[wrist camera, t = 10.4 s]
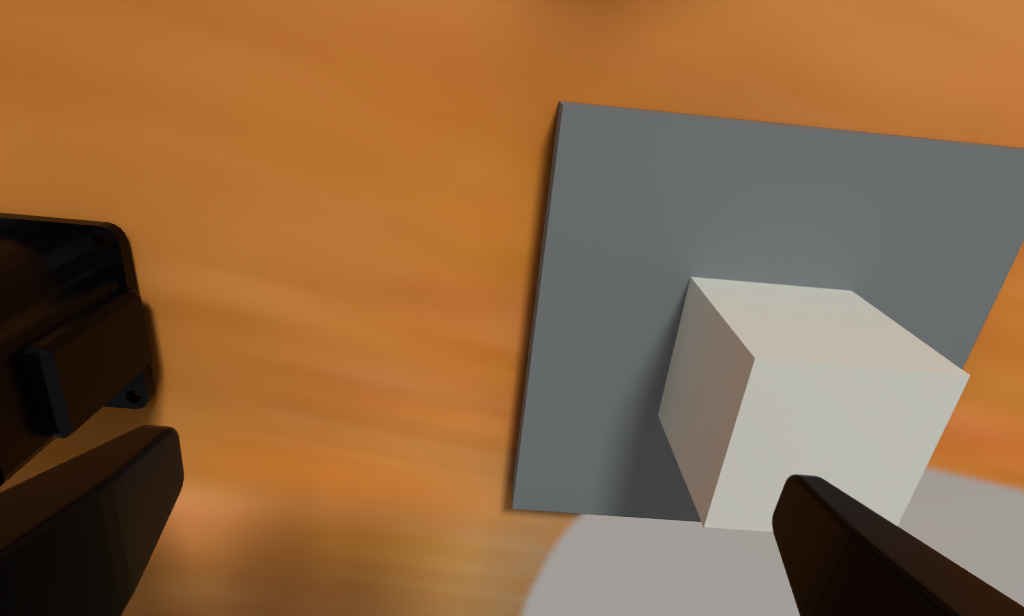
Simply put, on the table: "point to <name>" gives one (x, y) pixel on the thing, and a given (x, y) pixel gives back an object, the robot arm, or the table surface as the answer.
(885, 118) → the table surface
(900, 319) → the rubber mat
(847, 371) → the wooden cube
